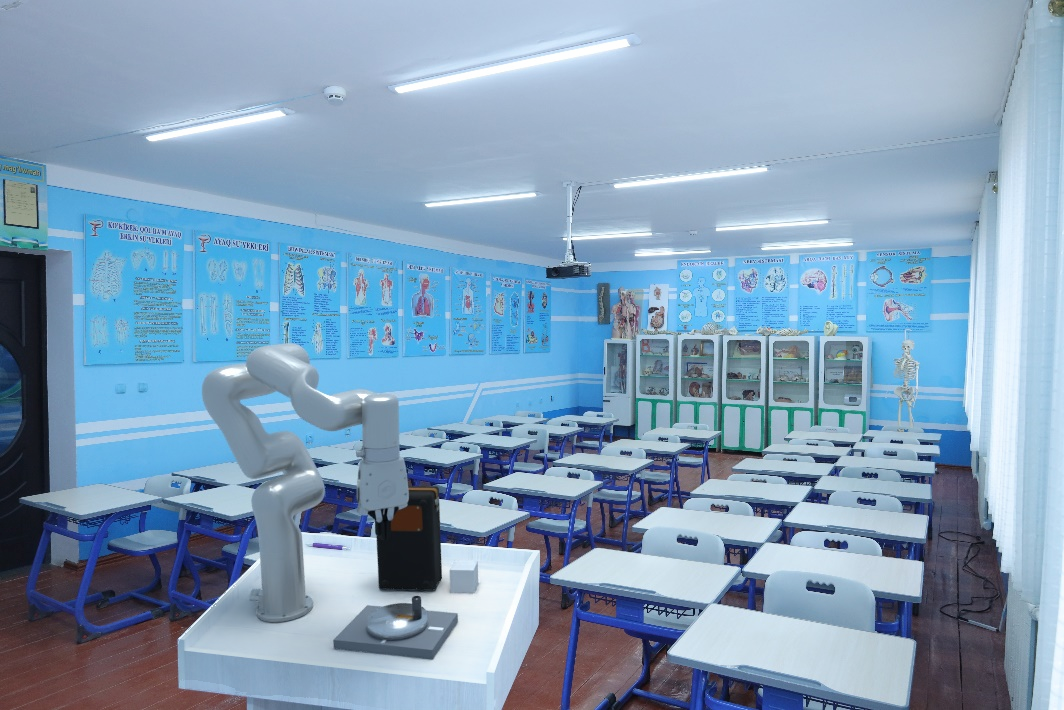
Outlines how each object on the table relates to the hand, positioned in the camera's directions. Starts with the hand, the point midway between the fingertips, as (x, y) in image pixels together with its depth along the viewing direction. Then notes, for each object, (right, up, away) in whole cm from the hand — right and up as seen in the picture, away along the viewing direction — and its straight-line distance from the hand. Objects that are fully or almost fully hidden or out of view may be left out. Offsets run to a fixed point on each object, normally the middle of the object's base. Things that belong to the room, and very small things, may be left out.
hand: (383, 537), depth 151 cm
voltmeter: (+1, -20, +29) cm, 35 cm away
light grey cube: (+15, -20, +27) cm, 36 cm away
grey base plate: (+2, -22, +4) cm, 23 cm away
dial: (+2, -20, +4) cm, 20 cm away
